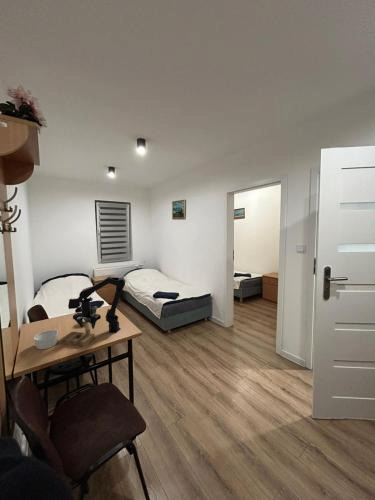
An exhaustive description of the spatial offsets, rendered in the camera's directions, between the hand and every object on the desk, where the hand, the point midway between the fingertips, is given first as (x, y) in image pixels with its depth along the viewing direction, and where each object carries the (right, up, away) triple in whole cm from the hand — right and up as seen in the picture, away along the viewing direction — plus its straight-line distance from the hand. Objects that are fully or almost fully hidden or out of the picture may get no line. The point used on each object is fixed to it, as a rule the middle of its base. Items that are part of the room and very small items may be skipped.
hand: (87, 328), depth 147 cm
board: (-3, -5, -8) cm, 10 cm away
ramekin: (-20, -7, -12) cm, 25 cm away
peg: (0, -4, 0) cm, 4 cm away
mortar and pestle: (-7, -2, +19) cm, 21 cm away
